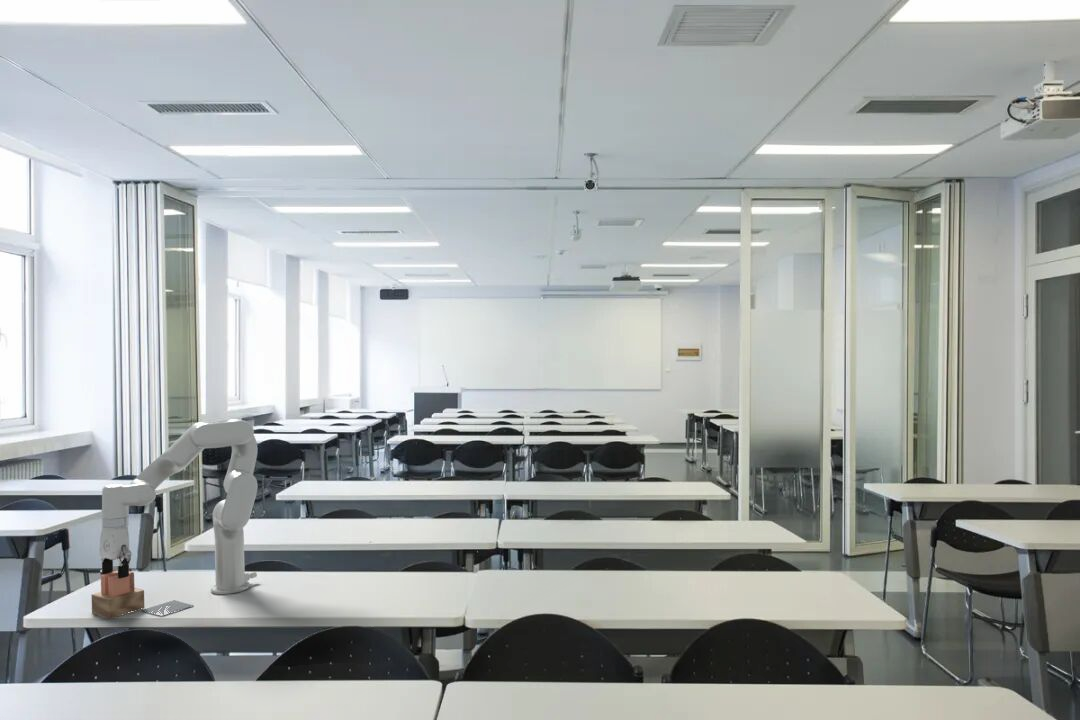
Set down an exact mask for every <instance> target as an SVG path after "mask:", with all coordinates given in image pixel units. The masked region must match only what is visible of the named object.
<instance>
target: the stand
mask: <svg viewBox="0 0 1080 720" xmlns="http://www.w3.org/2000/svg"><path fill="white" fill-rule="evenodd" d="M134 588H135V591H132V592H129V593H125V594H122V595H118V596H115V597H111V596H109V594H106V595H104V594H101V591H99V592H95V593H93V594H92V593H91V614H93V613H94V615H96V616H100V617H103V618H107V619H109V620H110V619H113V618H114V617H115V618H118V617H120V615H121V616H123V615H122V614H124V615H126V614H125V613H128V612H131V611H134V612H136V611H135V610H137V611H139V610H138V609H141V608H144V609H145V590H144V589H141V588H137V587H134ZM141 610H142V609H141ZM131 613H132V612H131ZM128 614H129V613H128ZM117 616H118V617H117Z"/></svg>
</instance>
